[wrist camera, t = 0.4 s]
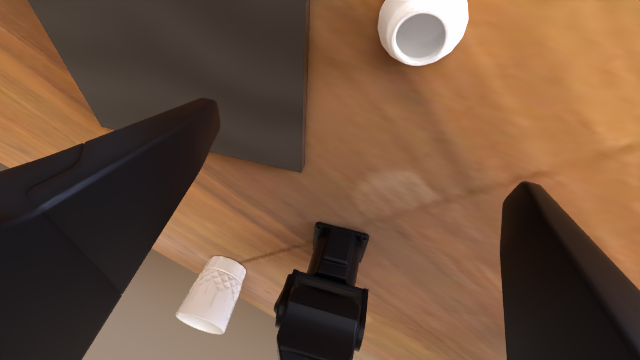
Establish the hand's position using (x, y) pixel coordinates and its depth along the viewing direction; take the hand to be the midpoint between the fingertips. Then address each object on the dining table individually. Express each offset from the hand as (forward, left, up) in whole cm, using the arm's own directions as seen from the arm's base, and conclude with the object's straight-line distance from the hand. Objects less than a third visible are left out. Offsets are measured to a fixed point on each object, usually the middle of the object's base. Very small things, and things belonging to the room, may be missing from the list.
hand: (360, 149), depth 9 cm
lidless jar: (-1, -2, -14) cm, 14 cm away
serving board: (-8, +16, -14) cm, 23 cm away
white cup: (-45, +18, -14) cm, 51 cm away
